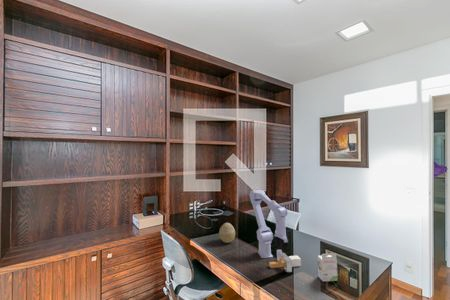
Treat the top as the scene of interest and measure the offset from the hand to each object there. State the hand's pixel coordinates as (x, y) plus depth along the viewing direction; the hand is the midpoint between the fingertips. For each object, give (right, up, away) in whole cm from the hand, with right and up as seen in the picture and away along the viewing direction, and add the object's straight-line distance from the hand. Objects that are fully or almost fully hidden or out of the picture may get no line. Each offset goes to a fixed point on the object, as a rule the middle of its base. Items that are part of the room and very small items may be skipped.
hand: (281, 249), depth 129 cm
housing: (+2, -10, 0) cm, 10 cm away
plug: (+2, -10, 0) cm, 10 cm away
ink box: (+22, -10, -14) cm, 27 cm away
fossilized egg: (-33, -12, +36) cm, 50 cm away
